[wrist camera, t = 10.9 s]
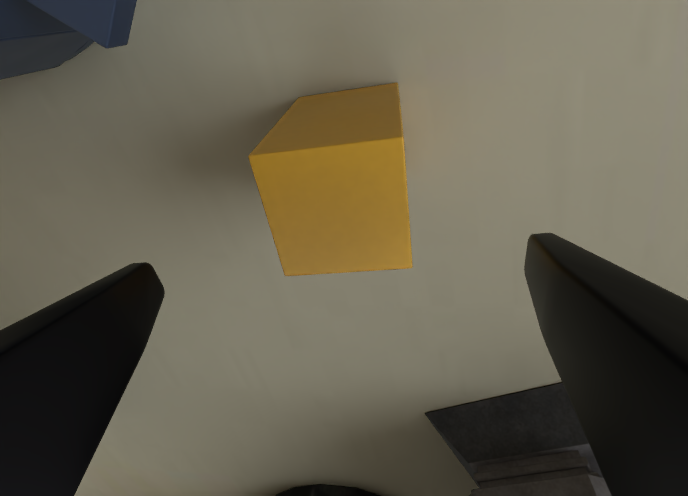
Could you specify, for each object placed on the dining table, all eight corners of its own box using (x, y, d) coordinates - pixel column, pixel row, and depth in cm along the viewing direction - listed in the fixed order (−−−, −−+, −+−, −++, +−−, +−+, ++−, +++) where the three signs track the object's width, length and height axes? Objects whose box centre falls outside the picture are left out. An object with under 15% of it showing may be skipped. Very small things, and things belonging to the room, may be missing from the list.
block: (317, 187, 18) (284, 276, 12) (298, 96, 16) (247, 155, 10) (404, 177, 17) (412, 268, 12) (397, 82, 15) (403, 136, 9)
